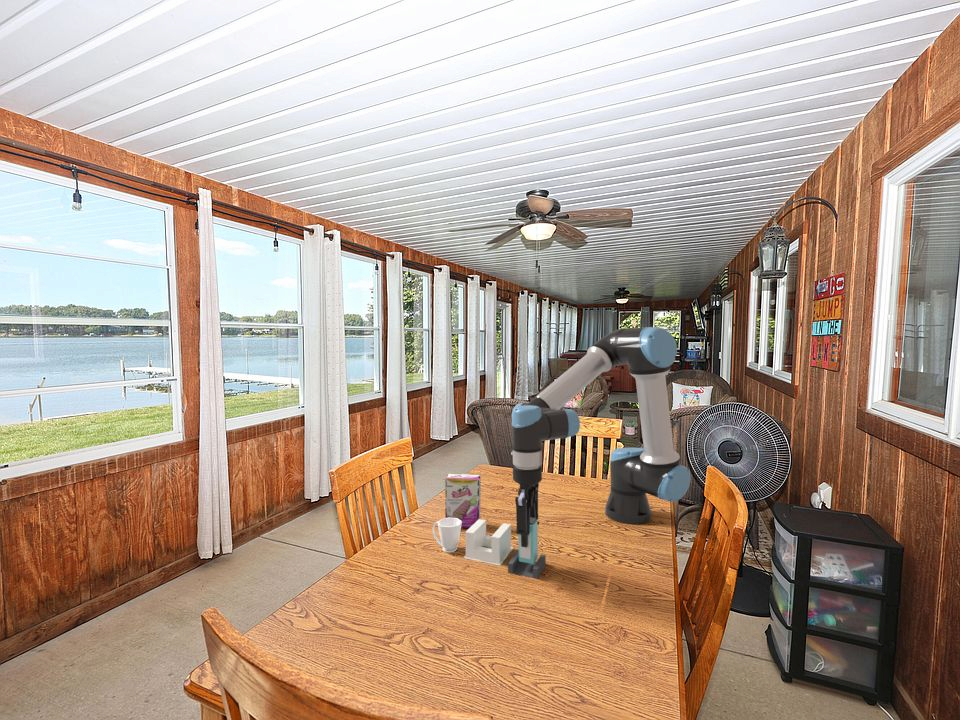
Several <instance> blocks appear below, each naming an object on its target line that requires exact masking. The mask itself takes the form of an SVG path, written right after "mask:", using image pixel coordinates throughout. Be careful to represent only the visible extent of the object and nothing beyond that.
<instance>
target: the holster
mask: <svg viewBox="0 0 960 720" xmlns="http://www.w3.org/2000/svg"><path fill="white" fill-rule="evenodd" d="M546 561H547V559H546V554H542V553H541V554H540V555H539V556H538V558H537V559H536V561H535V563H534V564H531V563H525V562H520V561H519V549H517V550H516V551H515V553H514V554H513V556H512V557H511V558H510V560H509V562H507V573H508V574H513V575H518V576H521V577H522V576H523V577H528V578H532V579H537V580H539V578H540V577H541V574H542V572H543V570H544V568H545V567H546V564H547V563H546Z"/></svg>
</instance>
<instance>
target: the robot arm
mask: <svg viewBox="0 0 960 720" xmlns="http://www.w3.org/2000/svg"><path fill="white" fill-rule="evenodd" d="M677 353H678V346H677V343H676V340H675V337H674V336H673V335H672V333H670V332H669V331H668V330H667V329H665V328H663V327H654V326H644V327H630V328H628V327H625V328H619V329H616V330H614V331H612V332H611V331H610V332H609V333H608V334H606V335H604V336H603V337H601V338H600V339H598V340H596V342H595V343H594V344H592V345H591V346H590V347H589V348H588V349H587V350H586V354H584V356H583V357H582V358H580V359H579V360H578V361H576V362H575V363H574V364H573V365H572V366H571V367H569V368H568V369H567V370H566V371H565V372H563V373H562V374H561V375H560V376H559V377H557V378H556V379H555V380H554V381H552V382H551V383H550V384H549V385H547V387H546V388H544V389H543V390H542V391H541V392H539V393H538V394H537V395H536V396H534V398H533V397H532V399H531V400H530V401H528V402H520V403H517V404H516V405H515V406H514V407H513V408H512V412H511V433H512V434H511V435H512V436H511V438H512V439H511V440H512V441H511V443H512V451H511V453H510V454H511V456H512V465H513V467H512V479H513V481H514V482H515V483H517V484H518V485H519V488H518V489H517V495H518V496H515V507H516V508H515V510H516V514H515V515H516V516H515V517H516V530H515V531H516V532H515V533H516V534H517V535H518V534H520V557H521V558H527V559H531V533H530V517H532V518H536V520H537V526H540V521H538V519H539V487H540V485H539V484H540V482H541V481H543V468H542V467H541V466H542V465H543V461H542V460H543V457H542V456H543V455H542V451H543V450H542V446H543V445H542V442H544V441H545V442H546V441H551V440H552V441H553V440H559V439H567V438H570V437H574V436H576V435H577V434H579V431H580V428H581V420H580V417H579V414H578V413H577V411H575V410H574V409H565V408H563V407H564V406H565V405H566V404H567V403H568V402H570V401H571V400H572V399H573V398H574V397H575V396H577V395H578V393H580V392H581V391H583V390H584V389H585V388H586V387H587V386H588V385H589V384H590V383H592V382H593V381H594V380H595V379H596V378H597V377H599V376H600V375H601V374H602V373H605V372H606V373H607V372H609V371H611V370H612V369H613V368H614V367H618V366H622V365H626V366H628V372H629V374H630V375H631V377H632V378H634V379H635V385H636V387H635V388H636V394H637V402H638V412H639V419H640V426H641V428H640V429H641V434H642V435H641V436H642V443H643V447H620V448H615V449H613V450H612V451H611V454H610V461H609V462H610V466H609V467H610V471H609V472H610V490H609V491H610V492H609V495H608V497H607V500H606V504H605V506H604V514H605V515H606V517H608V518H609V519H611V520H613V521H616V522H620V523H623V524H629V525H630V524H632V525H635V524H636V525H637V524H639V525H640V524H646V523H649V522H650V521H651V520H652V516H653V515H652V509H651V505H650V503H649V499H648V496H647V494H648V495H651V496H653V497H655V498H658V499H659V500H662V501H663V500H664V501H666V502H667V501H668V502H670V503H675V502H678V501H679V500H681V499H682V498H684V496H685V495H686V494H687V491H688V490H689V487H690V484H691V479H692V478H691V471H690V469H688V467H686V466H685V465H683V464H681V456H680V453H678V452H677V451H675V450H674V442H673V434H672V433H673V432H672V424H671V422H672V421H671V417H670V416H671V415H670V406H669V398H668V389H667V379H666V375H667V374H668V373H669V372H670V371H671V368H670V367H671V365H673V364H674V362H675V361H676V357H677V355H678V354H677ZM561 408H562V409H561Z"/></svg>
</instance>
